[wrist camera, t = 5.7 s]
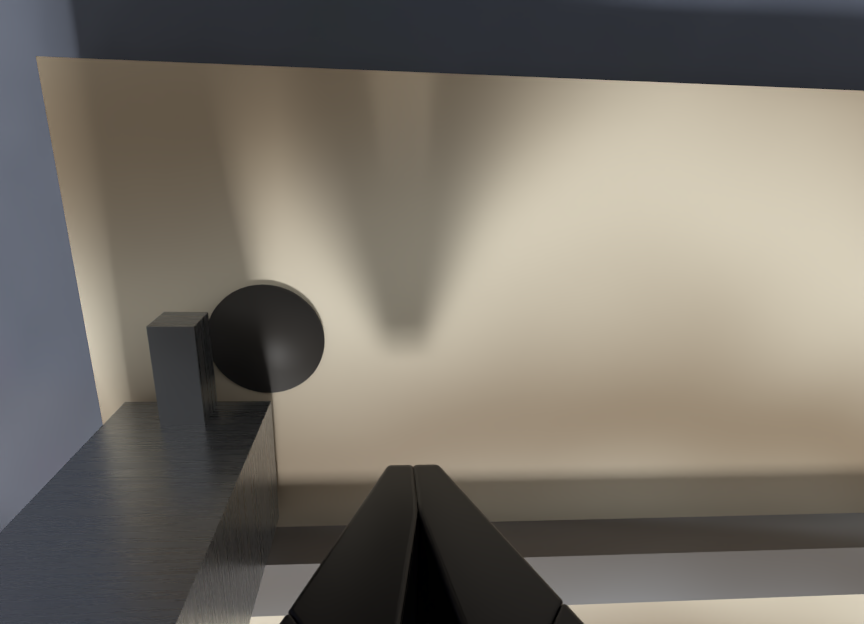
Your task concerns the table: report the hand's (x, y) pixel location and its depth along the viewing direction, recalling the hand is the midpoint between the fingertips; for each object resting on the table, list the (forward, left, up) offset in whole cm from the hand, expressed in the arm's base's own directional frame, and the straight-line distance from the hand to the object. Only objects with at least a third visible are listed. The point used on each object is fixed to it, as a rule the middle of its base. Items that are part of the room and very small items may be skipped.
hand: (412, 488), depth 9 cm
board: (-1, -7, -3) cm, 8 cm away
